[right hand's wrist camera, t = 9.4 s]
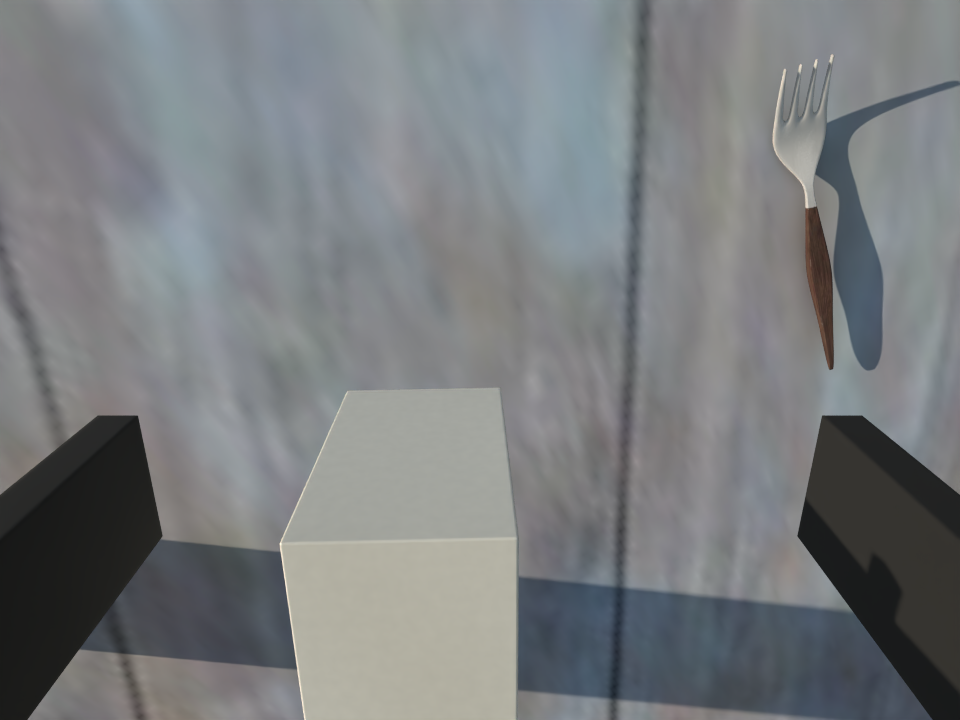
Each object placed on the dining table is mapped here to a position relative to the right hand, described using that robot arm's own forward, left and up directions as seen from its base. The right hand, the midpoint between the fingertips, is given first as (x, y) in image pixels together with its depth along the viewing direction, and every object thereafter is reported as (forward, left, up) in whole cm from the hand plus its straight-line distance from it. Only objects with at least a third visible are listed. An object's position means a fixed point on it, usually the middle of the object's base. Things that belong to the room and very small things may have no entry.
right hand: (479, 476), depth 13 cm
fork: (-16, +7, -23) cm, 29 cm away
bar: (+9, +13, -11) cm, 19 cm away
